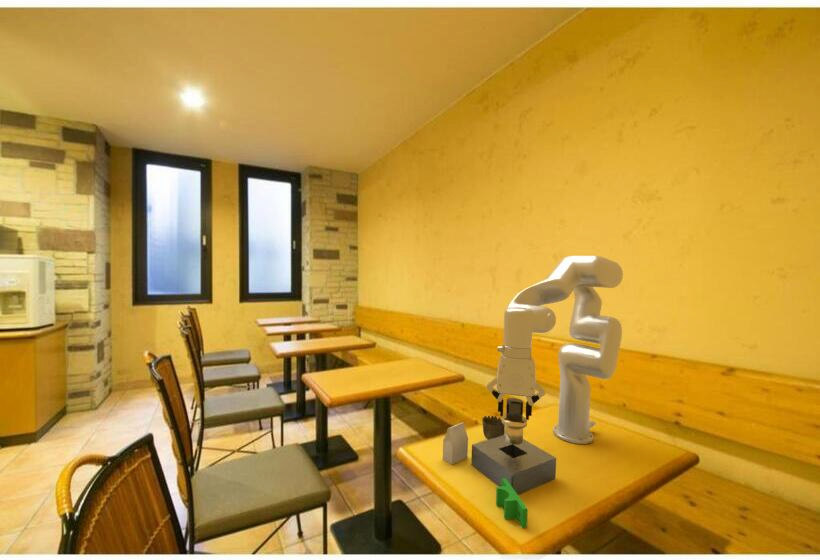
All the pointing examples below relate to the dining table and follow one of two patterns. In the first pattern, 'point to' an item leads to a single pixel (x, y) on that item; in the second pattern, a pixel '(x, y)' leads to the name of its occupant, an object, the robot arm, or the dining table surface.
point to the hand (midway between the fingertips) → (514, 415)
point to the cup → (492, 427)
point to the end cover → (514, 421)
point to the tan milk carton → (455, 444)
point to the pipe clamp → (511, 503)
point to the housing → (514, 463)
